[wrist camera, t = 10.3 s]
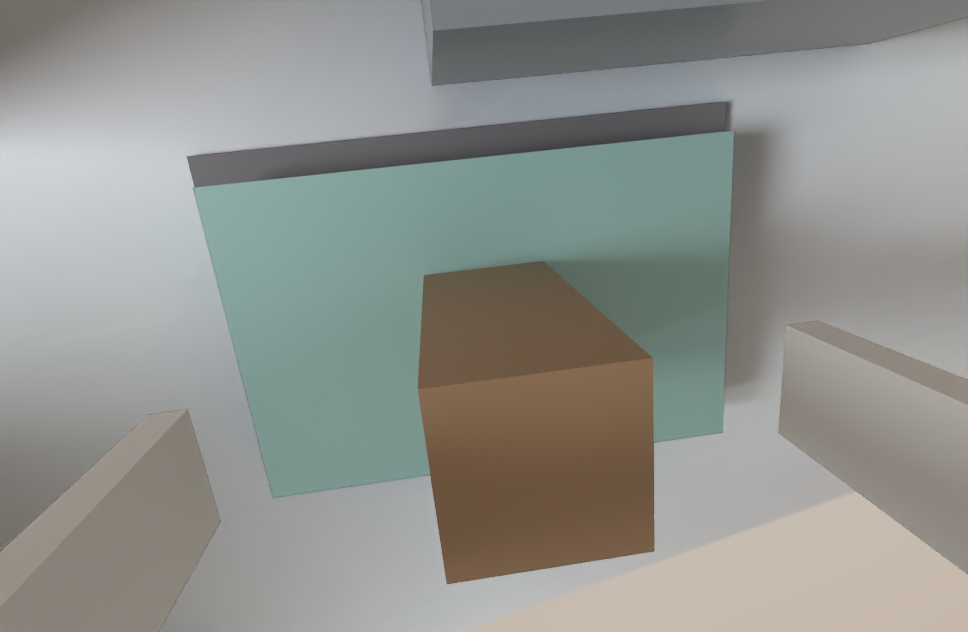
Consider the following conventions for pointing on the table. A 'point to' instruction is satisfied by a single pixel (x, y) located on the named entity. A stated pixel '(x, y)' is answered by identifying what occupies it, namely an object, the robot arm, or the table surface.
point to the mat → (455, 144)
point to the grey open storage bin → (650, 31)
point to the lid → (486, 335)
